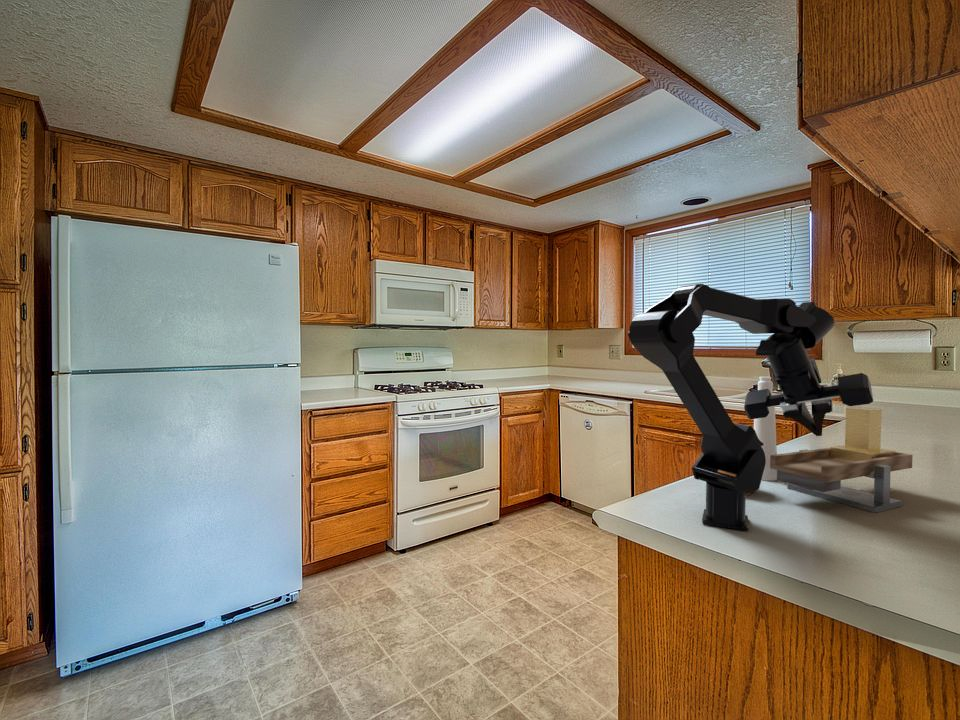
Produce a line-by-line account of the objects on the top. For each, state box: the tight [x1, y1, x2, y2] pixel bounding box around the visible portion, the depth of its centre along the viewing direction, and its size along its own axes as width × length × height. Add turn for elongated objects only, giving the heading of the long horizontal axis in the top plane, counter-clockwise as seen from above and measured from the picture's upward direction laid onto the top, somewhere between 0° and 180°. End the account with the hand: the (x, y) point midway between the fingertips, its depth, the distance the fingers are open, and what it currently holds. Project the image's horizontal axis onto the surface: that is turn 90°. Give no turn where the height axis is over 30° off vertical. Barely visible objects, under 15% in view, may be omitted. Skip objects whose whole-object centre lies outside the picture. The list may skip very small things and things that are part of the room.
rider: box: [829, 406, 897, 462], centre depth 91 cm, size 8×7×10 cm
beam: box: [770, 447, 913, 492], centre depth 88 cm, size 26×11×4 cm, turn 113°
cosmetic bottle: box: [753, 376, 778, 482], centre depth 101 cm, size 6×6×22 cm
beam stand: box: [787, 449, 902, 514], centre depth 88 cm, size 8×15×8 cm, turn 23°
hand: (819, 434), depth 85 cm, fingers closed
